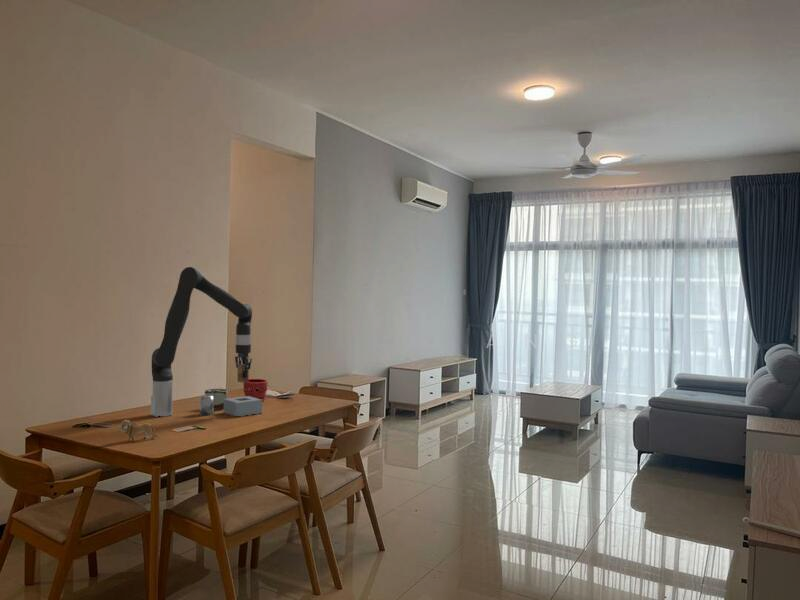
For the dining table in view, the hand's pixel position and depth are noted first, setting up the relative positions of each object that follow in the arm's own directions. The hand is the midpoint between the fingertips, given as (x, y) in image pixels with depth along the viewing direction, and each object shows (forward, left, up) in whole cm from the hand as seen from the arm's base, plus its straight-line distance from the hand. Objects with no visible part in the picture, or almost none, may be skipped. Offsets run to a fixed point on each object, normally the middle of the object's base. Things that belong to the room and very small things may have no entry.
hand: (243, 377), depth 304 cm
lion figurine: (-59, -25, -19) cm, 67 cm away
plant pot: (+21, +26, -18) cm, 38 cm away
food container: (-4, +20, -18) cm, 27 cm away
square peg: (0, 0, -2) cm, 2 cm away
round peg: (-15, +9, -18) cm, 25 cm away
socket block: (0, 0, -18) cm, 18 cm away
